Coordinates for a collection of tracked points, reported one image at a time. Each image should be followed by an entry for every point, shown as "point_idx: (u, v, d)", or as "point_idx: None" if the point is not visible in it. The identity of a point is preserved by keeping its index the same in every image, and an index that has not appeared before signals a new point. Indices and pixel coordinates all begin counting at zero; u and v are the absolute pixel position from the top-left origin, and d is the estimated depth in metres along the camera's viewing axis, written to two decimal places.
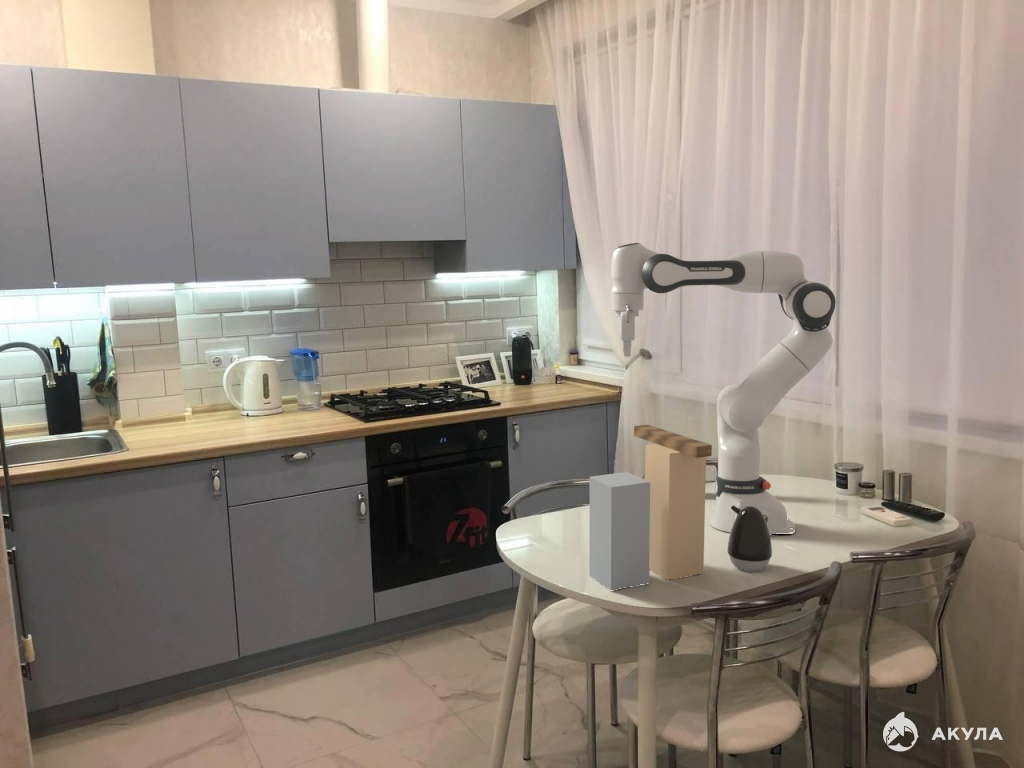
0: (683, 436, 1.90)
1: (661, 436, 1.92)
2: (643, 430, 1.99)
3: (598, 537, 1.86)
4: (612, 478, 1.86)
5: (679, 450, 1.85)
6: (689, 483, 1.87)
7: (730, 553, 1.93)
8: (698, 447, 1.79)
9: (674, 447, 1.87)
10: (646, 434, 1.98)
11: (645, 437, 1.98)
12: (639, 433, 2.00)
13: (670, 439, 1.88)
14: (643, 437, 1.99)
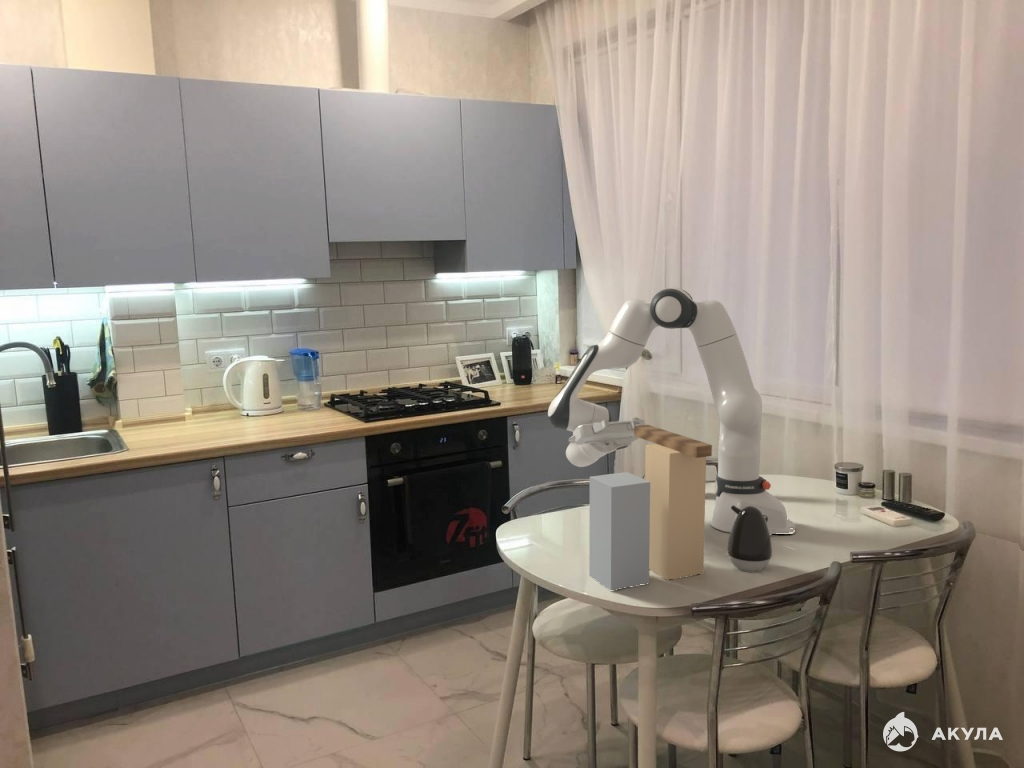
0: (683, 436, 1.90)
1: (661, 436, 1.92)
2: (643, 430, 1.99)
3: (598, 537, 1.86)
4: (612, 478, 1.86)
5: (679, 450, 1.85)
6: (689, 483, 1.87)
7: (730, 553, 1.93)
8: (698, 447, 1.79)
9: (674, 447, 1.87)
10: (646, 434, 1.98)
11: (645, 437, 1.98)
12: (639, 433, 2.00)
13: (670, 439, 1.88)
14: (643, 437, 1.99)
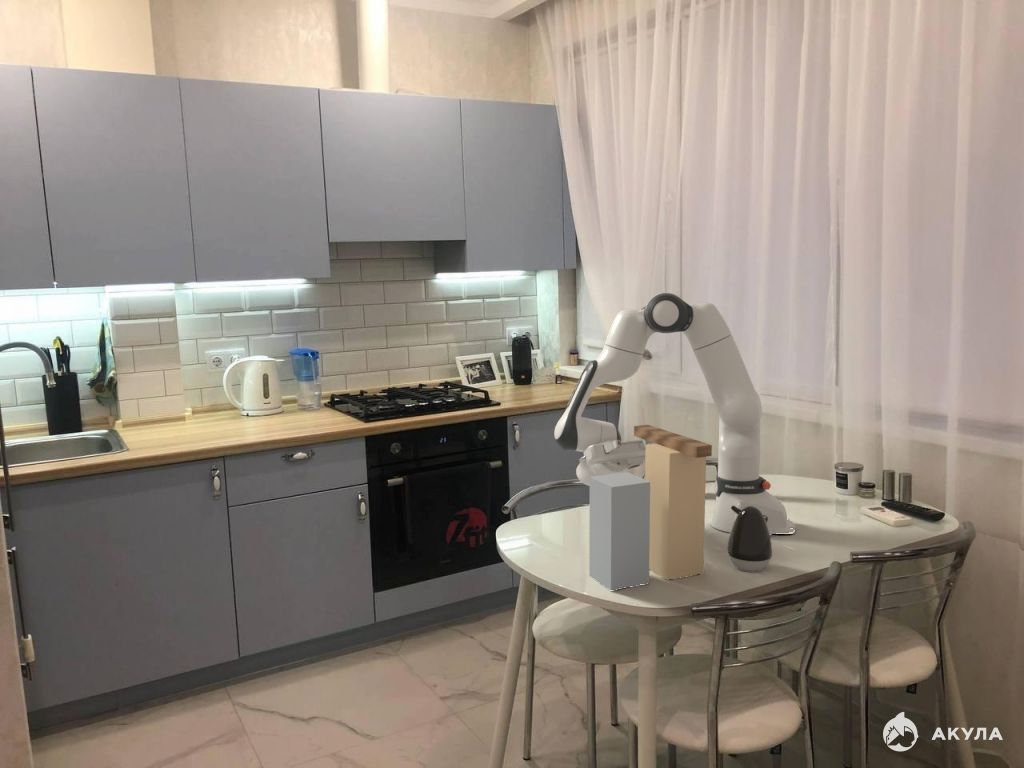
0: (683, 436, 1.90)
1: (661, 436, 1.92)
2: (643, 430, 1.99)
3: (598, 537, 1.86)
4: (612, 478, 1.86)
5: (679, 450, 1.85)
6: (689, 483, 1.87)
7: (730, 553, 1.93)
8: (698, 447, 1.79)
9: (674, 447, 1.87)
10: (646, 434, 1.98)
11: (645, 437, 1.98)
12: (639, 433, 2.00)
13: (670, 439, 1.88)
14: (643, 437, 1.99)
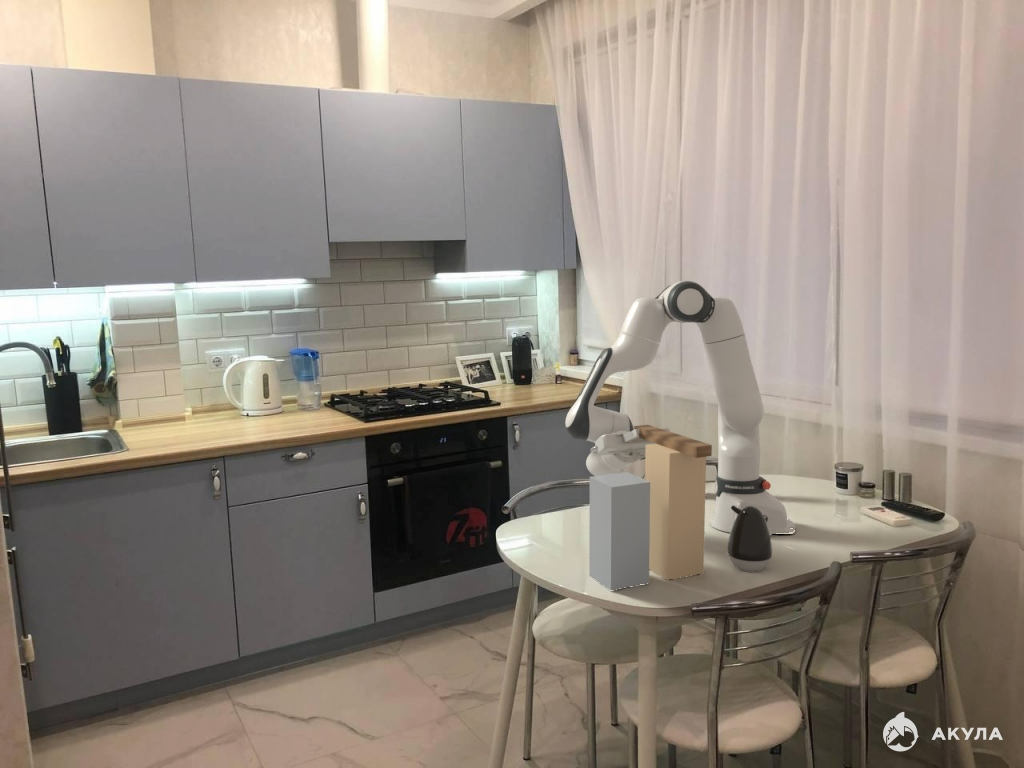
0: (683, 436, 1.90)
1: (661, 436, 1.92)
2: (643, 430, 1.99)
3: (598, 537, 1.86)
4: (612, 478, 1.86)
5: (679, 450, 1.85)
6: (689, 483, 1.87)
7: (730, 553, 1.93)
8: (698, 447, 1.79)
9: (674, 447, 1.87)
10: (646, 434, 1.98)
11: (645, 437, 1.98)
12: None
13: (670, 439, 1.88)
14: (643, 437, 1.99)
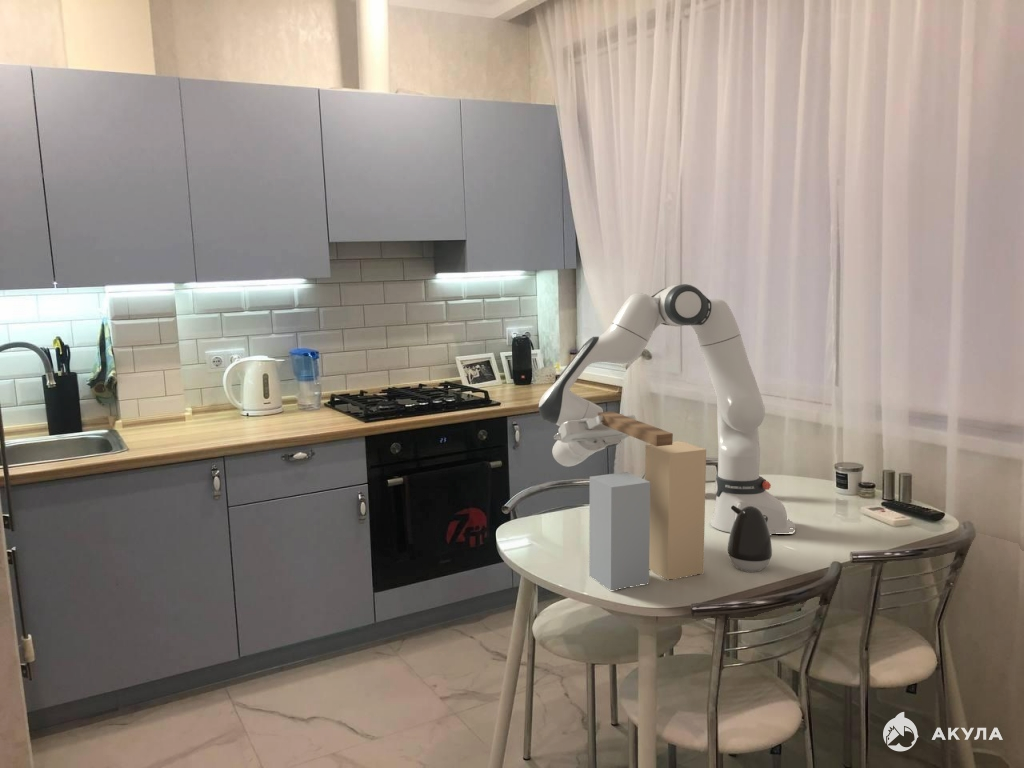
0: (645, 424, 1.85)
1: (623, 423, 1.87)
2: (606, 417, 1.94)
3: (598, 537, 1.86)
4: (612, 478, 1.86)
5: (640, 438, 1.81)
6: (689, 483, 1.87)
7: (730, 553, 1.93)
8: (658, 435, 1.75)
9: (635, 435, 1.82)
10: (609, 421, 1.93)
11: (608, 424, 1.94)
12: None
13: (632, 427, 1.84)
14: (606, 424, 1.94)
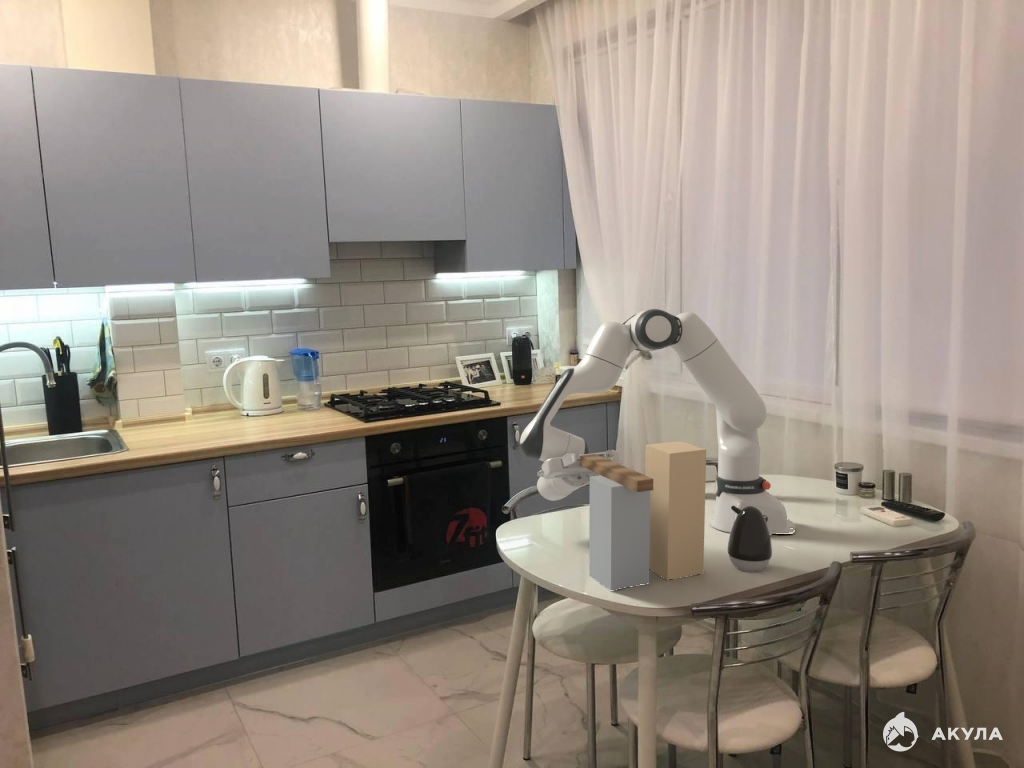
0: (627, 468, 1.85)
1: (605, 468, 1.87)
2: (588, 460, 1.94)
3: (598, 537, 1.86)
4: None
5: (621, 483, 1.80)
6: (689, 483, 1.87)
7: (730, 553, 1.93)
8: (639, 481, 1.74)
9: (617, 480, 1.82)
10: (591, 465, 1.93)
11: (590, 468, 1.93)
12: (585, 463, 1.96)
13: (613, 471, 1.83)
14: (588, 467, 1.94)
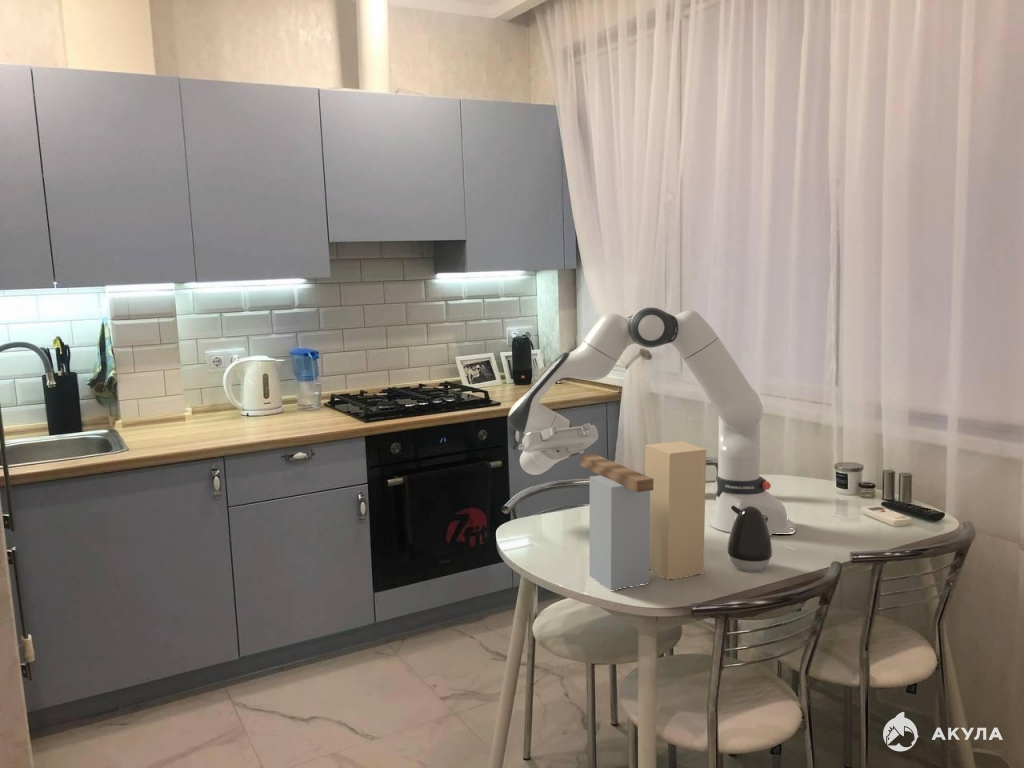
0: (627, 468, 1.85)
1: (605, 468, 1.87)
2: (588, 460, 1.94)
3: (598, 537, 1.86)
4: None
5: (621, 483, 1.80)
6: (689, 483, 1.87)
7: (730, 553, 1.93)
8: (639, 481, 1.74)
9: (617, 480, 1.82)
10: (591, 465, 1.93)
11: (590, 468, 1.93)
12: (585, 463, 1.96)
13: (613, 471, 1.83)
14: (588, 467, 1.94)
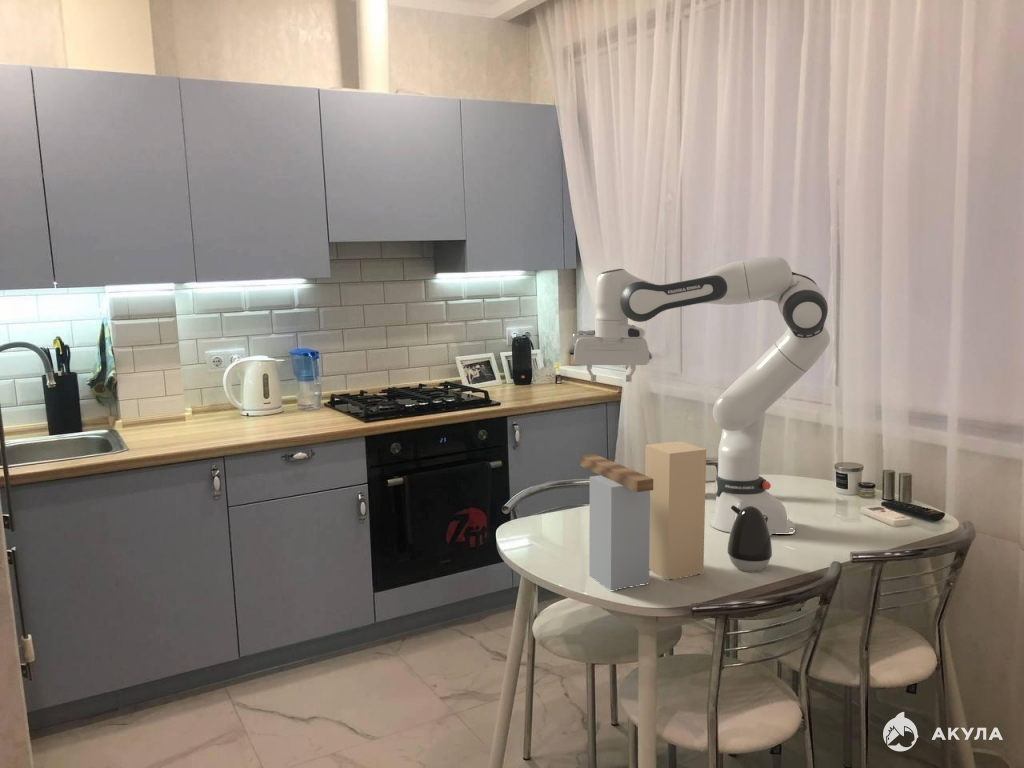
0: (627, 468, 1.85)
1: (605, 468, 1.87)
2: (588, 460, 1.94)
3: (598, 537, 1.86)
4: None
5: (621, 483, 1.80)
6: (689, 483, 1.87)
7: (730, 553, 1.93)
8: (639, 481, 1.74)
9: (617, 480, 1.82)
10: (591, 465, 1.93)
11: (590, 468, 1.93)
12: (585, 463, 1.96)
13: (613, 471, 1.83)
14: (588, 467, 1.94)
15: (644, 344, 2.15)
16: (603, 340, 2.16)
